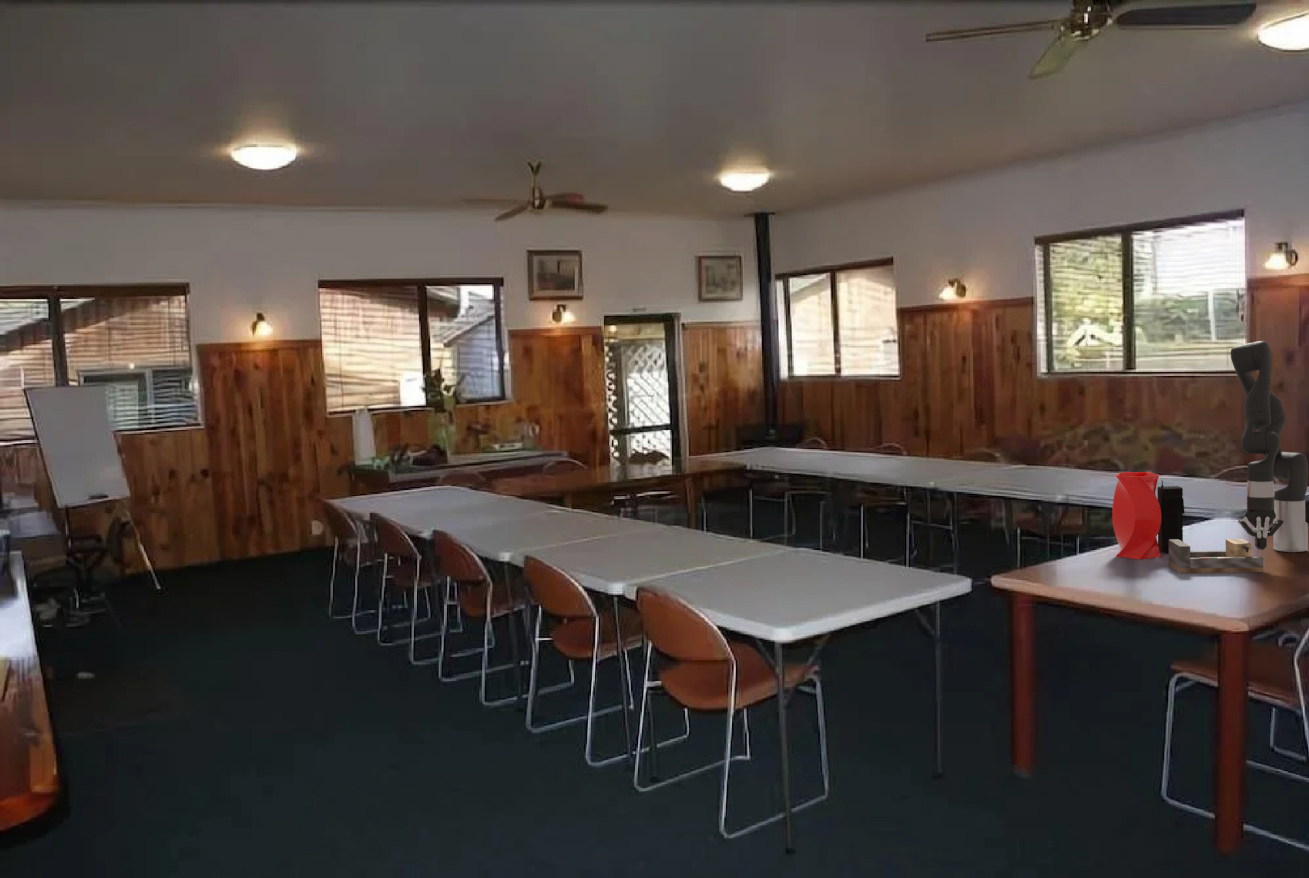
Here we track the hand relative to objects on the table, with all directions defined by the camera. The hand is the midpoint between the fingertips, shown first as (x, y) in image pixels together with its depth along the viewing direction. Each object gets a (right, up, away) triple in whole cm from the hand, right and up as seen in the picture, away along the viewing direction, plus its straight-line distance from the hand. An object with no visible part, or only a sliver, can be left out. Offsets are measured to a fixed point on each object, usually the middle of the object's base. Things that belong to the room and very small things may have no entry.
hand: (1260, 549), depth 329 cm
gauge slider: (-6, -5, 0) cm, 8 cm away
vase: (-26, -5, +29) cm, 39 cm away
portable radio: (-12, -4, +32) cm, 34 cm away
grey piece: (-13, -7, +3) cm, 15 cm away
